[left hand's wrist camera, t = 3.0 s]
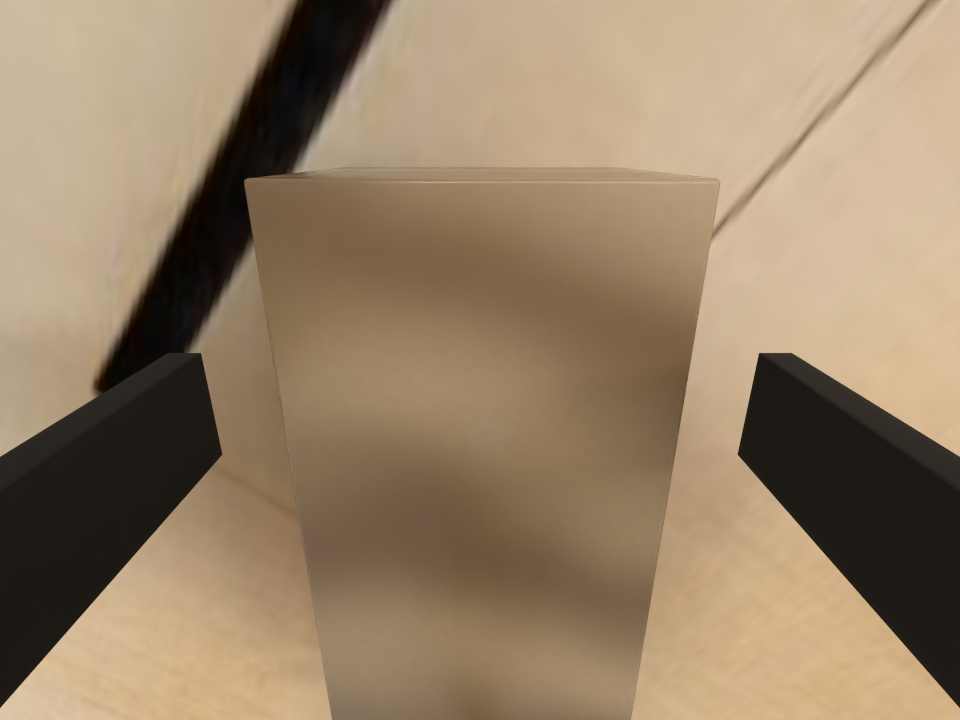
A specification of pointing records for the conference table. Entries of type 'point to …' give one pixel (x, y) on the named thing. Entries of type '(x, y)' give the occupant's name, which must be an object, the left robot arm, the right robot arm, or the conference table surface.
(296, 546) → the conference table surface
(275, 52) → the conference table surface
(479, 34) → the conference table surface
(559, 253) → the cabinet
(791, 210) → the conference table surface
